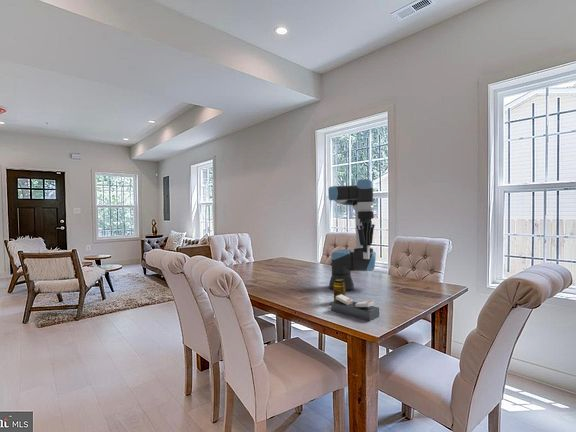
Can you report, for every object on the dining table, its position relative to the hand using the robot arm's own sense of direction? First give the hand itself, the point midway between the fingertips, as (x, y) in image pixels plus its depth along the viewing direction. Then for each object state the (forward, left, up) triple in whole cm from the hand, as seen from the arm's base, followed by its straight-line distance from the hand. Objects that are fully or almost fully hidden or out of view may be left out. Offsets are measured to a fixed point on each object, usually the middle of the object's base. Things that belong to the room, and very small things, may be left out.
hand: (366, 258), depth 150 cm
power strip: (-2, -12, -24) cm, 27 cm away
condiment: (-15, -2, -24) cm, 29 cm away
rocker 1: (-5, -12, -19) cm, 23 cm away
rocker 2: (+6, -12, -19) cm, 23 cm away
